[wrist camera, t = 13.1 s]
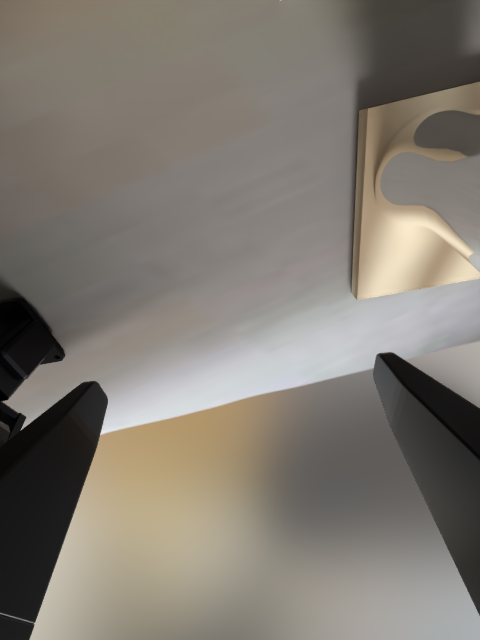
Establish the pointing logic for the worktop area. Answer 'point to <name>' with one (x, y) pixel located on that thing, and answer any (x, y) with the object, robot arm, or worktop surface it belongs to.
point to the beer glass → (436, 177)
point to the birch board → (390, 236)
